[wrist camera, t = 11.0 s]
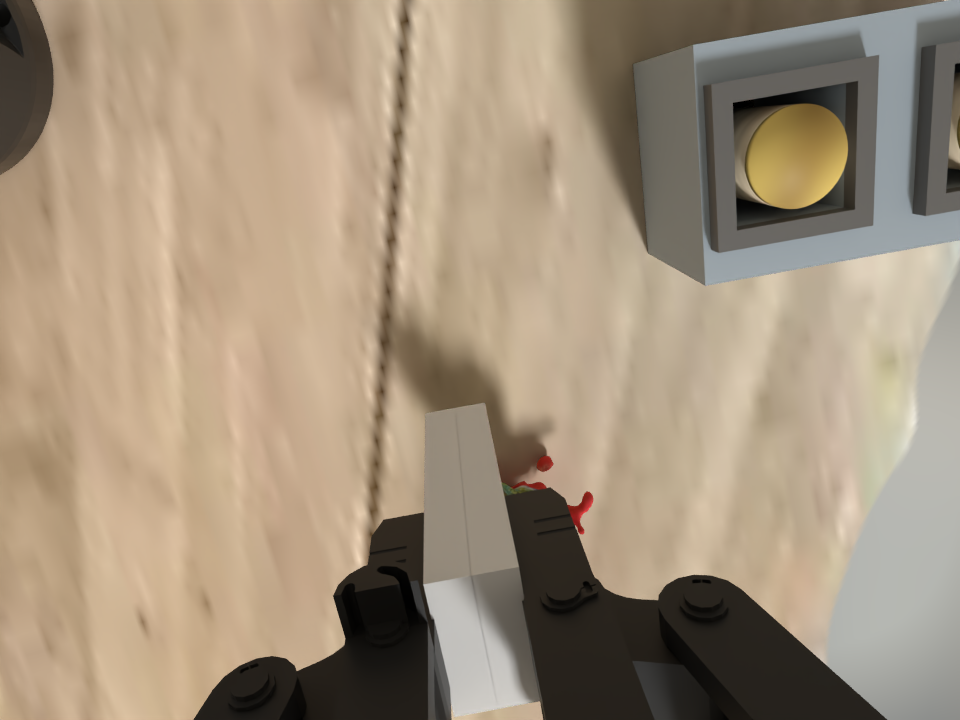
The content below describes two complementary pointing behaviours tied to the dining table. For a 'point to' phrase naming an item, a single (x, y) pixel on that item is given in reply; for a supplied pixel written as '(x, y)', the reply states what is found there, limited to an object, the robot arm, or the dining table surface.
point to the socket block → (803, 80)
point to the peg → (787, 154)
